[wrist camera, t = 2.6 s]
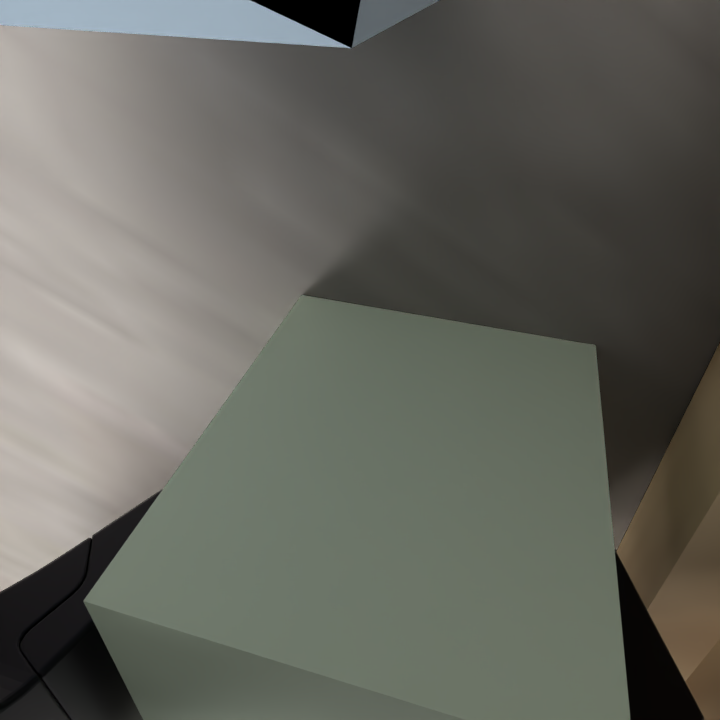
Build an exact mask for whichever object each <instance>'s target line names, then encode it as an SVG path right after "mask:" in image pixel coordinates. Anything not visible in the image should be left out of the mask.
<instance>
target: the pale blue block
mask: <svg viewBox="0 0 720 720" xmlns="http://www.w3.org/2000/svg"><path fill="white" fill-rule="evenodd" d="M437 1H439V0H0V25H7V26H22V27H37V28H52V29H68V30H83V31H98V32H113V33H129V34H144V35H159V36H174V37H189V38H205V39H220V40H235V41H250V42H266V43H281V44H296V45H311V46H326V47H342V48H353V47H355V46H357V45H358V44H360V43H362V42H364V41H366V40H368V39H369V38H371V37H373V36H375V35H377V34H379V33H380V32H382V31H384V30H386V29H388V28H390V27H391V26H393V25H395V24H397V23H399V22H401V21H402V20H404V19H406V18H408V17H410V16H412V15H413V14H415V13H417V12H419V11H421V10H423V9H424V8H426V7H428V6H430V5H432V4H434V3H435V2H437Z"/></svg>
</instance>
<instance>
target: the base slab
mask: <svg viewBox="0 0 720 720" xmlns="http://www.w3.org/2000/svg"><path fill="white" fill-rule="evenodd" d="M616 552H617V554H618V556H619V558H620V560H621V562H622V563H623V565H624V567H625V569H626V571H627V573H628V575H629V577H630V579H631V580H632V582H633V584H634V586H635V588H636V590H637V592H638V594H639V596H640V597H641V599H642V601H643V603H644V605H645V607H646V609H647V611H648V613H649V614H650V616H651V618H652V620H653V622H654V624H655V626H656V628H657V629H658V631H659V633H660V635H661V637H662V639H663V641H664V643H665V645H666V646H667V648H668V650H669V652H670V654H671V656H672V658H673V660H674V662H675V663H676V665H677V667H678V669H679V671H680V673H681V675H682V677H683V678H684V680H685V682H686V684H687V686H688V688H689V690H690V692H691V694H692V695H693V697H694V699H695V701H696V703H697V705H698V707H699V709H700V711H701V712H702V714H703V716H704V720H720V343H719V345H718V347H717V349H716V351H715V353H714V355H713V357H712V359H711V361H710V363H709V365H708V367H707V369H706V371H705V373H704V375H703V377H702V379H701V381H700V383H699V385H698V387H697V389H696V391H695V394H694V396H693V398H692V400H691V402H690V404H689V406H688V408H687V410H686V412H685V414H684V416H683V418H682V420H681V422H680V424H679V426H678V428H677V430H676V432H675V434H674V436H673V438H672V440H671V442H670V444H669V446H668V448H667V450H666V452H665V454H664V456H663V458H662V460H661V462H660V464H659V466H658V468H657V470H656V472H655V474H654V476H653V478H652V480H651V482H650V485H649V487H648V489H647V491H646V493H645V495H644V497H643V499H642V501H641V503H640V505H639V507H638V509H637V511H636V513H635V515H634V517H633V519H632V521H631V523H630V525H629V527H628V529H627V531H626V533H625V535H624V537H623V539H622V541H621V543H620V545H619V547H618V549H617V551H616Z"/></svg>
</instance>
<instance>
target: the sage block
mask: <svg viewBox="0 0 720 720" xmlns="http://www.w3.org/2000/svg"><path fill="white" fill-rule="evenodd" d="M83 602H84V604H85V606H86V608H87V610H88V612H89V613H90V615H91V617H92V619H93V621H94V623H95V625H96V627H97V629H98V631H99V633H100V635H101V637H102V639H103V641H104V643H105V645H106V647H107V649H108V651H109V653H110V655H111V657H112V659H113V661H114V663H115V665H116V667H117V669H118V671H119V673H120V675H121V677H122V679H123V681H124V683H125V685H126V687H127V689H128V691H129V693H130V695H131V697H132V699H133V701H134V703H135V705H136V707H137V709H138V711H139V713H140V715H141V716H142V718H143V720H630V709H629V699H628V688H627V677H626V666H625V656H624V645H623V634H622V623H621V613H620V602H619V591H618V580H617V570H616V559H615V548H614V537H613V526H612V516H611V505H610V494H609V483H608V473H607V462H606V451H605V440H604V430H603V419H602V408H601V397H600V387H599V376H598V365H597V354H596V345H592V344H586V343H580V342H574V341H568V340H563V339H557V338H551V337H545V336H539V335H533V334H527V333H522V332H516V331H510V330H504V329H498V328H492V327H487V326H481V325H475V324H469V323H463V322H457V321H451V320H446V319H440V318H434V317H428V316H422V315H416V314H411V313H405V312H399V311H393V310H387V309H381V308H375V307H370V306H364V305H358V304H352V303H346V302H340V301H335V300H329V299H323V298H317V297H311V296H305V295H301V296H300V298H299V299H298V301H297V302H296V303H295V305H294V306H293V308H292V309H291V310H290V312H289V313H288V315H287V316H286V317H285V319H284V320H283V322H282V323H281V324H280V326H279V327H278V329H277V330H276V331H275V333H274V334H273V336H272V337H271V338H270V340H269V341H268V343H267V344H266V345H265V347H264V348H263V350H262V351H261V352H260V354H259V355H258V357H257V358H256V359H255V361H254V362H253V364H252V365H251V366H250V368H249V369H248V371H247V372H246V373H245V375H244V376H243V378H242V379H241V380H240V382H239V383H238V385H237V386H236V388H235V389H234V390H233V392H232V393H231V395H230V396H229V397H228V399H227V400H226V402H225V403H224V404H223V406H222V407H221V409H220V410H219V411H218V413H217V414H216V416H215V417H214V418H213V420H212V421H211V423H210V424H209V425H208V427H207V428H206V430H205V431H204V432H203V434H202V435H201V437H200V438H199V439H198V441H197V442H196V444H195V445H194V446H193V448H192V449H191V451H190V452H189V453H188V455H187V456H186V458H185V459H184V460H183V462H182V463H181V465H180V466H179V467H178V469H177V470H176V472H175V473H174V474H173V476H172V477H171V479H170V480H169V481H168V483H167V484H166V486H165V487H164V488H163V490H162V491H161V493H160V494H159V495H158V497H157V498H156V500H155V501H154V502H153V504H152V505H151V507H150V508H149V509H148V511H147V512H146V514H145V515H144V516H143V518H142V519H141V521H140V522H139V524H138V525H137V526H136V528H135V529H134V531H133V532H132V533H131V535H130V536H129V538H128V539H127V540H126V542H125V543H124V545H123V546H122V547H121V549H120V550H119V552H118V553H117V554H116V556H115V557H114V559H113V560H112V561H111V563H110V564H109V566H108V567H107V568H106V570H105V571H104V573H103V574H102V575H101V577H100V578H99V580H98V581H97V582H96V584H95V585H94V587H93V588H92V589H91V591H90V592H89V594H88V595H87V596H86V598H85V599H84V601H83Z"/></svg>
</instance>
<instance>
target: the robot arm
mask: <svg viewBox="0 0 720 720" xmlns="http://www.w3.org/2000/svg"><path fill="white" fill-rule="evenodd" d="M162 490H163V489H162ZM162 490H160V491H159V492H157V493H156V494H154V495H153V496H151V497H150V498H148V499H147V500H145V501H144V502H142V503H141V504H139V505H138V506H136V507H135V508H133V509H132V510H130V511H129V512H127V513H126V514H124V515H123V516H121V517H120V518H118V519H117V520H115V521H113V522H112V523H110V524H109V525H107V526H106V527H104V528H103V529H101V530H100V531H98V532H97V533H95V534H94V535H93V537H92V538H88V539H86V540H84V541H83V542H81V543H80V544H78V545H77V546H75V547H74V548H72V549H71V550H69V551H68V552H66V553H65V554H63V555H61V556H60V557H58V558H57V559H55V560H54V561H52V562H50V563H49V564H47V565H46V566H44V567H43V568H41V569H39V570H38V571H36V572H34V573H32V574H31V575H29V576H27V577H26V578H24V579H22V580H20V581H19V582H17V583H15V584H13V585H12V586H10V587H8V588H7V589H5V590H3V591H1V592H0V720H143V718H142V716H141V715H140V713H139V711H138V709H137V707H136V705H135V703H134V701H133V699H132V697H131V695H130V693H129V691H128V689H127V687H126V685H125V683H124V681H123V679H122V677H121V675H120V673H119V671H118V669H117V667H116V665H115V663H114V661H113V659H112V657H111V655H110V653H109V651H108V649H107V647H106V645H105V643H104V641H103V639H102V637H101V635H100V633H99V631H98V629H97V627H96V625H95V623H94V621H93V619H92V617H91V615H90V613H89V612H88V610H87V608H86V606H85V604H84V602H83V601H84V599H85V598H86V596H87V595H88V594H89V592H90V591H91V589H92V588H93V587H94V585H95V584H96V582H97V581H98V580H99V578H100V577H101V575H102V574H103V573H104V571H105V570H106V568H107V567H108V566H109V564H110V563H111V561H112V560H113V559H114V557H115V556H116V554H117V553H118V552H119V550H120V549H121V547H122V546H123V545H124V543H125V542H126V540H127V539H128V538H129V536H130V535H131V533H132V532H133V531H134V529H135V528H136V526H137V525H138V524H139V522H140V521H141V519H142V518H143V516H144V515H145V514H146V512H147V511H148V509H149V508H150V507H151V505H152V504H153V502H154V501H155V500H156V498H157V497H158V495H159V494H160V493H161V491H162ZM615 559H616V570H617V580H618V591H619V602H620V613H621V623H622V634H623V645H624V656H625V666H626V677H627V688H628V699H629V709H630V720H704V716H703V714H702V712H701V711H700V709H699V707H698V705H697V703H696V701H695V699H694V697H693V695H692V694H691V692H690V690H689V688H688V686H687V684H686V682H685V680H684V678H683V677H682V675H681V673H680V671H679V669H678V667H677V665H676V663H675V662H674V660H673V658H672V656H671V654H670V652H669V650H668V648H667V646H666V645H665V643H664V641H663V639H662V637H661V635H660V633H659V631H658V629H657V628H656V626H655V624H654V622H653V620H652V618H651V616H650V614H649V613H648V611H647V609H646V607H645V605H644V603H643V601H642V599H641V597H640V596H639V594H638V592H637V590H636V588H635V586H634V584H633V582H632V580H631V579H630V577H629V575H628V573H627V571H626V569H625V567H624V565H623V563H622V562H621V560H620V558H619V556H618V554H617V552H616V550H615Z"/></svg>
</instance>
